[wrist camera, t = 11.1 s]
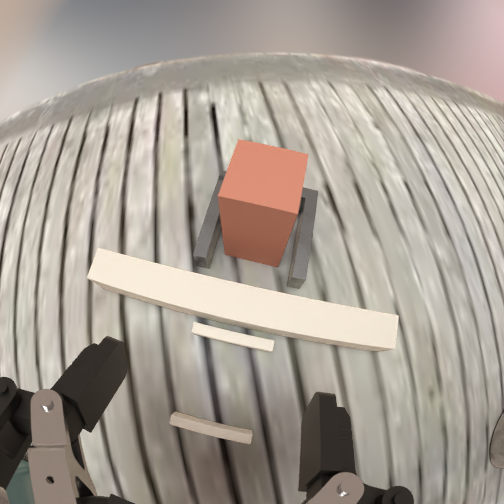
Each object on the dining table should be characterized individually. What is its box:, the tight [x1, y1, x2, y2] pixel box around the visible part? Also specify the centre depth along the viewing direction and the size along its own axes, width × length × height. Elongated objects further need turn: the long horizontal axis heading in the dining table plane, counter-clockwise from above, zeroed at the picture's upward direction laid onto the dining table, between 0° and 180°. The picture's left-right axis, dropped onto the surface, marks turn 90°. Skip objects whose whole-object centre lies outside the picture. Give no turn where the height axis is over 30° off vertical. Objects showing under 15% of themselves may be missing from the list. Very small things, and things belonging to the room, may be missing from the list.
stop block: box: [218, 140, 308, 267], centre depth 21 cm, size 4×4×9 cm
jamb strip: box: [87, 248, 399, 444], centre depth 19 cm, size 24×11×3 cm, turn 77°
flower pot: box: [6, 459, 36, 504], centre depth 10 cm, size 9×9×9 cm
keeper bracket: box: [193, 171, 318, 289], centre depth 24 cm, size 8×8×2 cm
